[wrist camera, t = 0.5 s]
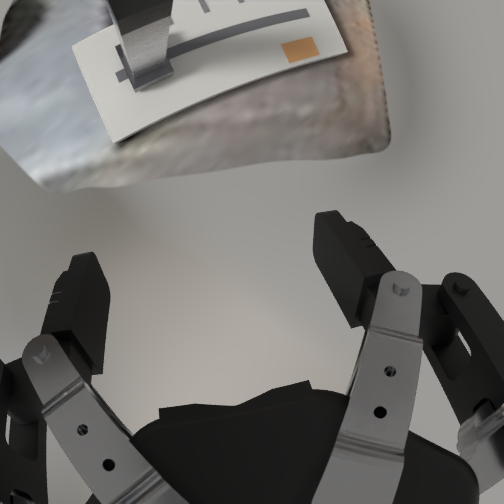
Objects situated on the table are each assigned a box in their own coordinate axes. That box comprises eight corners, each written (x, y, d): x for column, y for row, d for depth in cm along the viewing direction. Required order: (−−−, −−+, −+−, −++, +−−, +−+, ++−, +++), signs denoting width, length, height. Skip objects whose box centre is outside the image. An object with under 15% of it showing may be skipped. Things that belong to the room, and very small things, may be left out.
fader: (117, 52, 25) (86, -26, 10) (154, 35, 25) (157, -54, 10) (135, 93, 27) (114, 40, 12) (173, 75, 27) (189, 9, 12)
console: (76, 52, 26) (71, 46, 23) (299, -22, 29) (308, -31, 26) (116, 143, 30) (113, 143, 28) (337, 56, 34) (348, 51, 31)
